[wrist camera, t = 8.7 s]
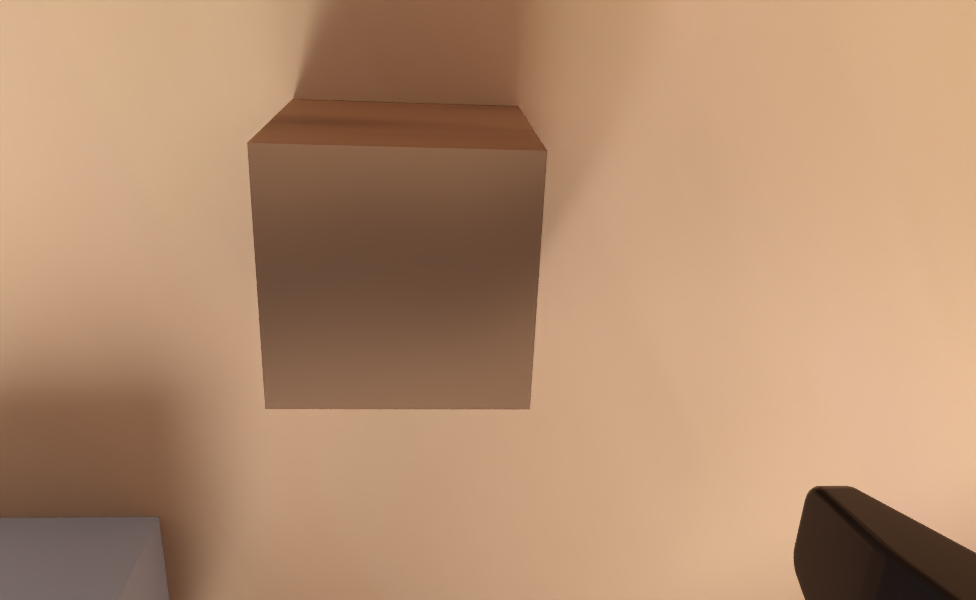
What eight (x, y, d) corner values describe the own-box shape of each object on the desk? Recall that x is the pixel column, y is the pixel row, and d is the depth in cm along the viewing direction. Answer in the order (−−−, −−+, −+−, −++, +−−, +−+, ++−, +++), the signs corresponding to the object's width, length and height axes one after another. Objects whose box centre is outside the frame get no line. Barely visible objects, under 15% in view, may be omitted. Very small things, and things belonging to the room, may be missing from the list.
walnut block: (506, 310, 21) (530, 409, 16) (302, 307, 20) (265, 408, 16) (517, 105, 19) (547, 150, 14) (293, 98, 18) (247, 142, 14)
